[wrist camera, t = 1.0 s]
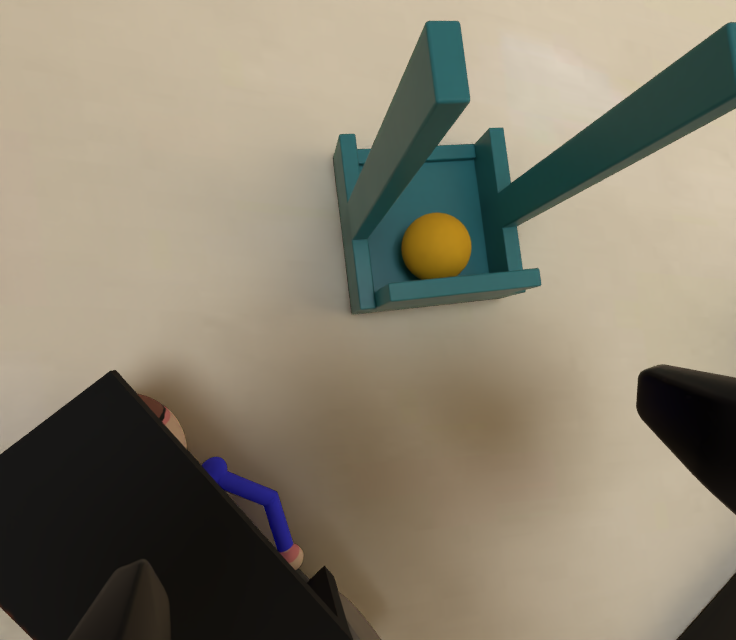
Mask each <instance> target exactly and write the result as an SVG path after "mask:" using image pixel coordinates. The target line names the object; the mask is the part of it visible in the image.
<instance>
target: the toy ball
mask: <svg viewBox="0 0 736 640" xmlns="http://www.w3.org/2000/svg"><path fill="white" fill-rule="evenodd" d="M401 252H402V257H403V260H404V263H405V265H406V267H407V268H408V269H409V271H410V272H411V273H412V274H413V275H414V276H416V277H417V278H419V279H421V280H423V279H433V278H444V277H454V276H457V275H458V274H460V273H461V272H462V270H463V269H464V268H465V267H466V265H467V263H468V261H469V258H470V255H471V239H470V236H469V233H468V231H467V229H466V228H465V226H464V225H463V224H462V223H461V222H460V221H459V220H458V219H456V218H455V217H453V216H451V215H448V214H445V213H429V214H426V215H423V216H421V217H419V218H418V219H416V220H415V221H414V222H413V223H412V224H411V225H410V226H409V227H408V228H407V230H406V232H405V234H404V236H403V240H402V245H401Z"/></svg>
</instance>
